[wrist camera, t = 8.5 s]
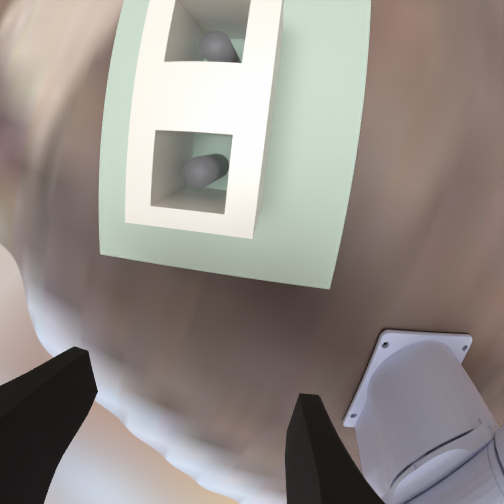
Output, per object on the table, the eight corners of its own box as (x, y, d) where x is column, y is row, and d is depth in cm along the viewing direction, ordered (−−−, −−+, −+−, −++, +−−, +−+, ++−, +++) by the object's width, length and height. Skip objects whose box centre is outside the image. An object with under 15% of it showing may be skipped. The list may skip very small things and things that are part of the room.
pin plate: (326, 277, 18) (340, 325, 13) (112, 245, 18) (66, 278, 13) (364, 5, 12) (390, -35, 7) (138, -6, 13) (99, -40, 8)
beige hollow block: (261, 208, 15) (252, 239, 10) (169, 197, 15) (125, 222, 11) (283, 30, 12) (284, -17, 7) (189, 26, 12) (153, -15, 8)
